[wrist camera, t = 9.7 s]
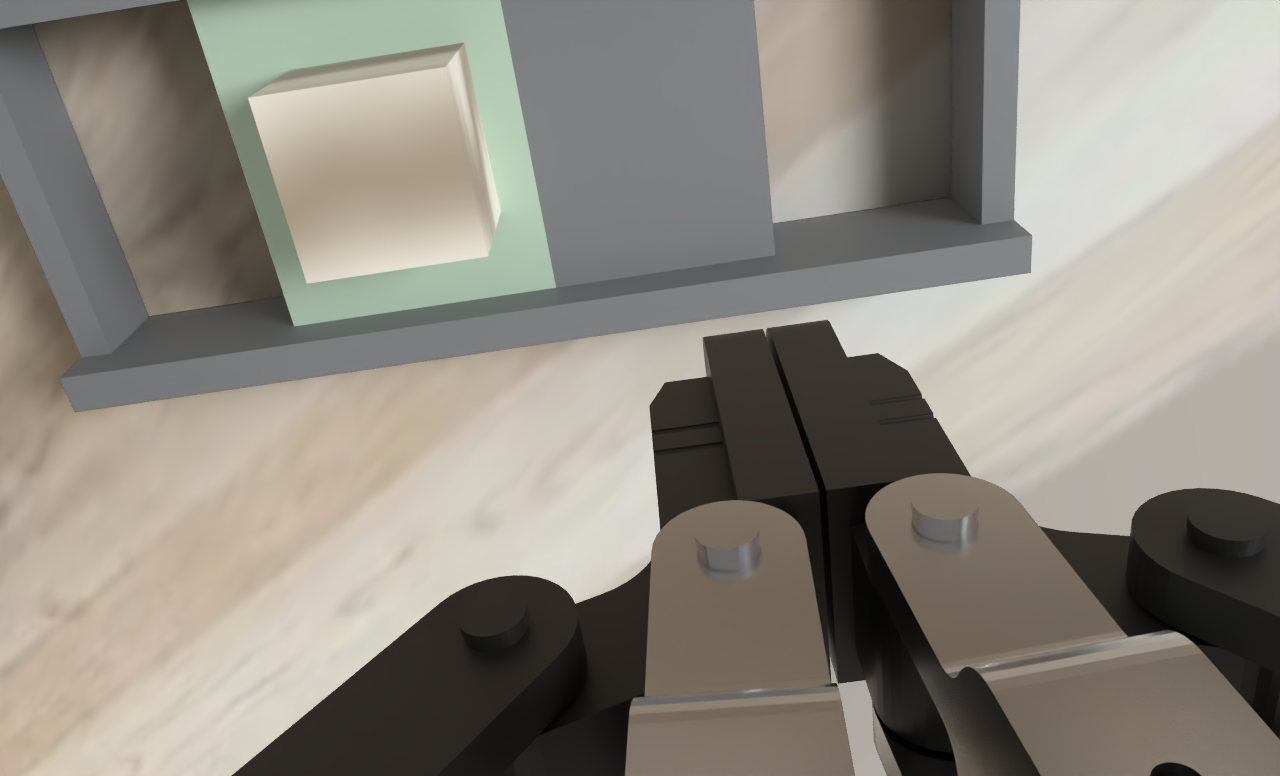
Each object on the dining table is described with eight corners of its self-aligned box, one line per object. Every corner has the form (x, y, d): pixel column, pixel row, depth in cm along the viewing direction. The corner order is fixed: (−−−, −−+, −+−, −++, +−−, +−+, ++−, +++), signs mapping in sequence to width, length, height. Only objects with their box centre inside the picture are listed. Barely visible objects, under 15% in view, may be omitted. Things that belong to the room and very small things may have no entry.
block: (291, 69, 29) (247, 97, 25) (464, 42, 28) (445, 67, 25) (340, 236, 31) (306, 283, 27) (500, 211, 31) (488, 256, 27)
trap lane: (-21, -21, 30) (-117, -5, 26) (986, -184, 29) (1048, -192, 25) (133, 351, 36) (75, 412, 32) (980, 226, 35) (1030, 272, 31)
